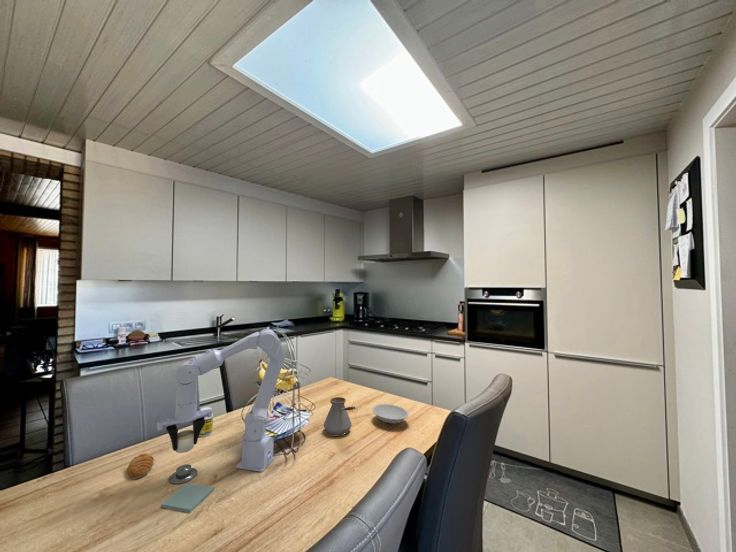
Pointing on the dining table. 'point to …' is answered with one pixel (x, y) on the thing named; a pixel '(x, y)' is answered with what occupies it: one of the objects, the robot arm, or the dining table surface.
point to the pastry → (140, 466)
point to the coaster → (187, 497)
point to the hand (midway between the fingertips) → (184, 446)
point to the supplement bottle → (207, 425)
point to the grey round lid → (183, 474)
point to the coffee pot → (338, 417)
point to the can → (185, 441)
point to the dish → (390, 413)
